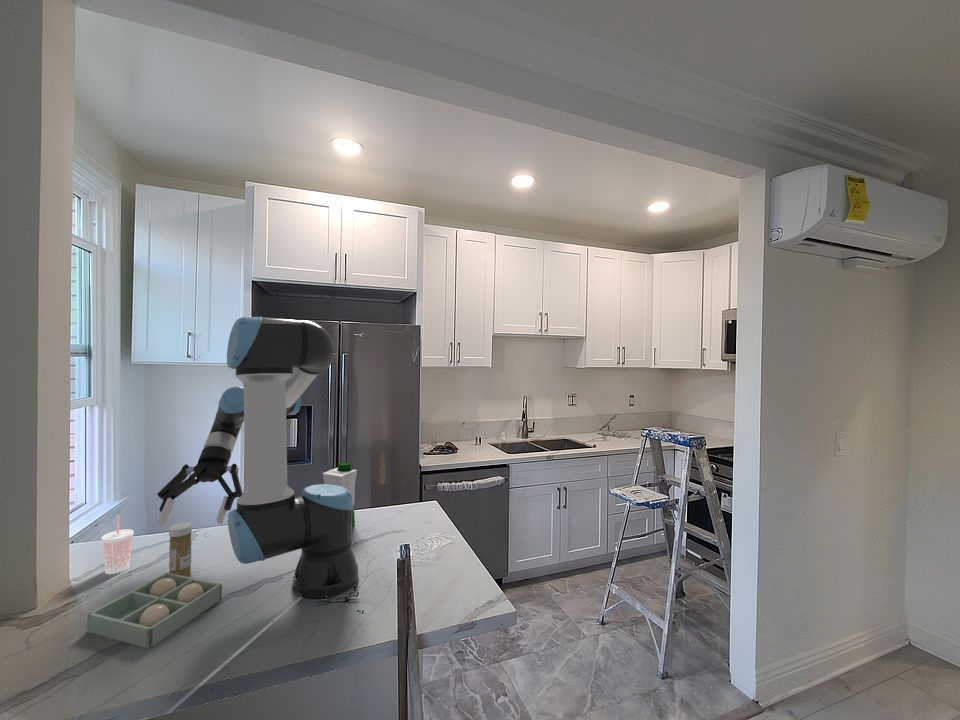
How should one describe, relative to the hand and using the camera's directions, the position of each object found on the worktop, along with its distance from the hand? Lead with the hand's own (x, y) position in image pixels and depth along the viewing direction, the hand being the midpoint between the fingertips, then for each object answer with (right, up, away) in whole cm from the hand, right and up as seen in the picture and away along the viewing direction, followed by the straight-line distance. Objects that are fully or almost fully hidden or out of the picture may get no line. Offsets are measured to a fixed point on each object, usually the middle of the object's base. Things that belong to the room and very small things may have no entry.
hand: (190, 523), depth 105 cm
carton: (+7, -12, -19) cm, 24 cm away
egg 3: (+12, -11, -17) cm, 23 cm away
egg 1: (+4, -11, -15) cm, 19 cm away
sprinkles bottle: (+1, -12, -6) cm, 13 cm away
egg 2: (+10, -12, -24) cm, 28 cm away
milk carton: (+29, -12, +27) cm, 41 cm away
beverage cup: (-17, -11, -2) cm, 21 cm away
